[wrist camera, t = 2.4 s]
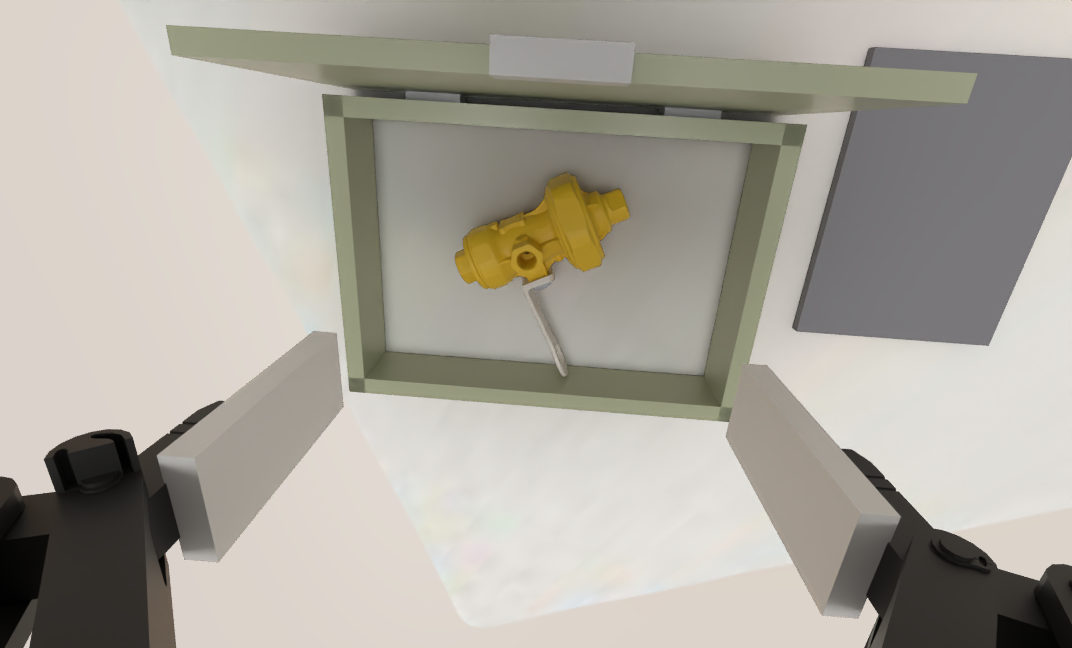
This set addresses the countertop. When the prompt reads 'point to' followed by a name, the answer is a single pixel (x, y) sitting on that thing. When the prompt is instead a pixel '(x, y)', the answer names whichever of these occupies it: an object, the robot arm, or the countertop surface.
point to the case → (572, 77)
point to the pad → (940, 202)
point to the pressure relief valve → (543, 243)
